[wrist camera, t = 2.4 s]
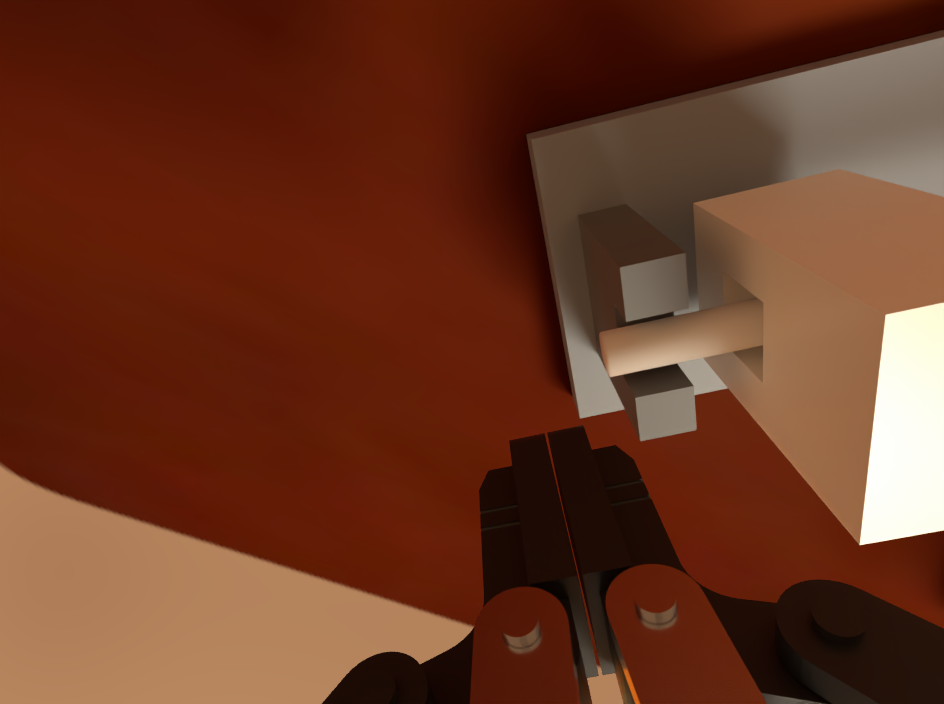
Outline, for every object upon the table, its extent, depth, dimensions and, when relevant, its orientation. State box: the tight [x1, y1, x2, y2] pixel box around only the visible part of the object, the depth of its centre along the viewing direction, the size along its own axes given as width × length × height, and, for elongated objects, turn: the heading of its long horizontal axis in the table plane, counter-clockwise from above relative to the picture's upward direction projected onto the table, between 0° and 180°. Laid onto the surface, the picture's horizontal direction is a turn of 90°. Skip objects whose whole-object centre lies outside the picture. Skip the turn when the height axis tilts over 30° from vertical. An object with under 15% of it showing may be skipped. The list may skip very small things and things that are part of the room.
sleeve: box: [693, 169, 944, 545], centre depth 13 cm, size 5×4×8 cm
